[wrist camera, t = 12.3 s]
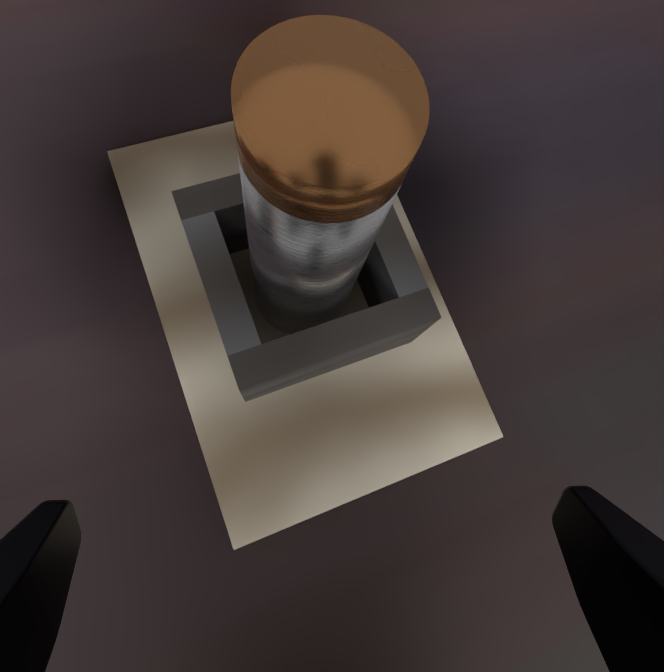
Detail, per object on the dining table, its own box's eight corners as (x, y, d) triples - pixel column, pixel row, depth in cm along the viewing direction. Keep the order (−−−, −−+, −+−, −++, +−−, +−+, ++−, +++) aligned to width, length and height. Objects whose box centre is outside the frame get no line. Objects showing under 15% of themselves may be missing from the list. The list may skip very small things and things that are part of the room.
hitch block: (493, 437, 22) (555, 432, 17) (235, 545, 19) (223, 575, 15) (348, 105, 25) (367, 22, 20) (114, 164, 23) (71, 85, 18)
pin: (363, 297, 21) (468, 116, 10) (294, 353, 21) (321, 226, 9) (305, 232, 22) (341, -15, 10) (235, 284, 21) (188, 75, 9)
